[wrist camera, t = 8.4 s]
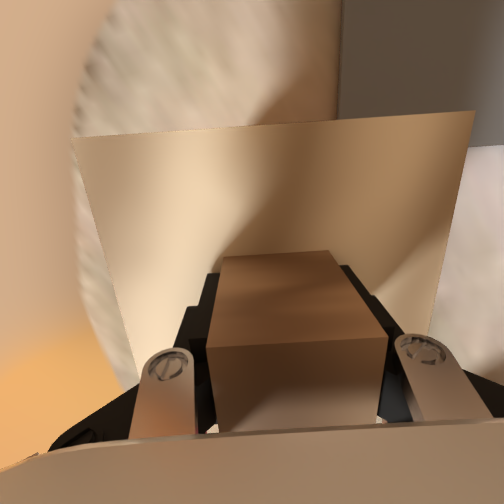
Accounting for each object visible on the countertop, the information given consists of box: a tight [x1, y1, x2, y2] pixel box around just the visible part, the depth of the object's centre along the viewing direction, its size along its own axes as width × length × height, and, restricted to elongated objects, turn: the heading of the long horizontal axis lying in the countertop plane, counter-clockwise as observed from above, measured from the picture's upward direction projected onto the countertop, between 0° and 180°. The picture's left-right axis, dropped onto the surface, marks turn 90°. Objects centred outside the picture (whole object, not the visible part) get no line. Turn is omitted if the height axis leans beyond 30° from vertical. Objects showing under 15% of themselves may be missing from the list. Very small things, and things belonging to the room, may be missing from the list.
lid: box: [71, 110, 476, 433], centre depth 10 cm, size 13×13×6 cm
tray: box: [337, 0, 504, 147], centre depth 19 cm, size 15×15×1 cm
